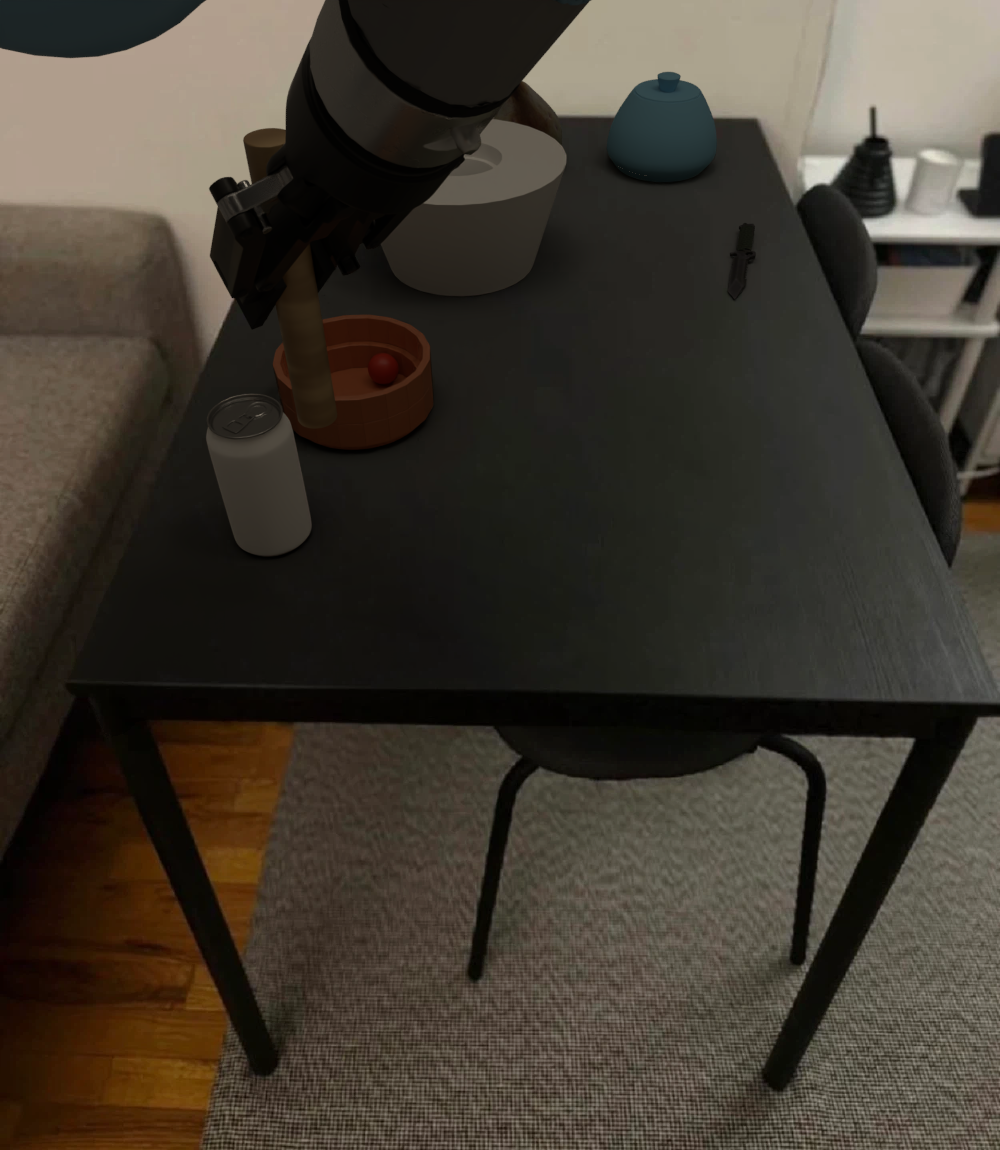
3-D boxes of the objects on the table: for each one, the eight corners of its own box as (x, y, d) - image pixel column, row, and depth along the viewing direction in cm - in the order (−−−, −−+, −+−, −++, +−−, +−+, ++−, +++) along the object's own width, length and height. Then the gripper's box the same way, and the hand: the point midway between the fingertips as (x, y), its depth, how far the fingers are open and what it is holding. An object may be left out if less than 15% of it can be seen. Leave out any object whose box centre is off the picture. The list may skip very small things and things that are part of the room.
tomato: (363, 384, 92) (359, 358, 90) (382, 370, 94) (379, 343, 92) (387, 393, 91) (384, 367, 89) (405, 379, 93) (403, 352, 91)
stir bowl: (253, 421, 89) (240, 367, 85) (350, 352, 98) (343, 300, 93) (370, 473, 84) (362, 418, 79) (463, 395, 92) (460, 342, 88)
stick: (289, 420, 62) (232, 139, 49) (316, 401, 63) (267, 124, 51) (319, 433, 61) (268, 150, 48) (345, 413, 62) (303, 134, 50)
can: (328, 524, 79) (306, 406, 71) (276, 570, 75) (246, 451, 67) (271, 497, 82) (242, 381, 73) (218, 541, 78) (181, 423, 69)
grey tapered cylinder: (572, 221, 119) (576, 122, 110) (550, 319, 102) (554, 211, 93) (387, 210, 121) (378, 113, 113) (337, 304, 105) (322, 198, 96)
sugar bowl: (730, 179, 127) (745, 88, 119) (625, 191, 125) (633, 99, 116) (689, 138, 137) (701, 51, 129) (592, 148, 135) (597, 61, 127)
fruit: (481, 160, 132) (478, 68, 124) (540, 148, 135) (542, 57, 127) (512, 187, 126) (512, 92, 117) (573, 175, 129) (578, 81, 120)
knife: (734, 220, 116) (759, 220, 115) (734, 227, 117) (759, 227, 116) (722, 295, 104) (750, 296, 103) (722, 302, 105) (749, 303, 104)
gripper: (272, 228, 35) (185, 399, 56) (577, 127, 42) (398, 313, 63) (174, 39, 35) (122, 284, 55) (502, -32, 41) (346, 209, 62)
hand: (269, 299), depth 59 cm, fingers closed on stick, 2 cm apart
